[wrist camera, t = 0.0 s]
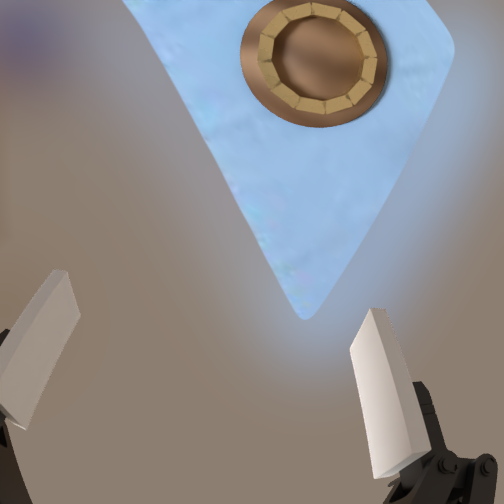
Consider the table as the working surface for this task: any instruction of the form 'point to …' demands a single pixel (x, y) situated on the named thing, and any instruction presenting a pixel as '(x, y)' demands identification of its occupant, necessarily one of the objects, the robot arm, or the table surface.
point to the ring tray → (313, 61)
